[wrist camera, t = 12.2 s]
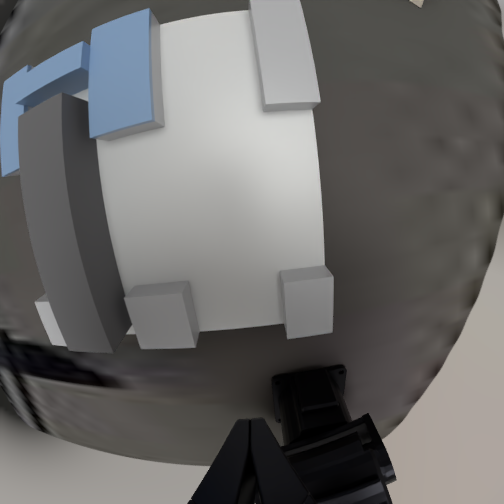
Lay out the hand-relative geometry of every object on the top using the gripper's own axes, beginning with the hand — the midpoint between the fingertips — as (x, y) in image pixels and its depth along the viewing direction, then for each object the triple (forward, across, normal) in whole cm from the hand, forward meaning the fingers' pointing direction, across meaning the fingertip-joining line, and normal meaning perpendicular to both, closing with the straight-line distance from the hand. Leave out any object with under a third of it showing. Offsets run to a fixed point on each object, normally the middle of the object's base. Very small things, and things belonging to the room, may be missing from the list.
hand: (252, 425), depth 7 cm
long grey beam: (+11, +11, -6) cm, 17 cm away
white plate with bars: (+12, +6, -8) cm, 16 cm away
